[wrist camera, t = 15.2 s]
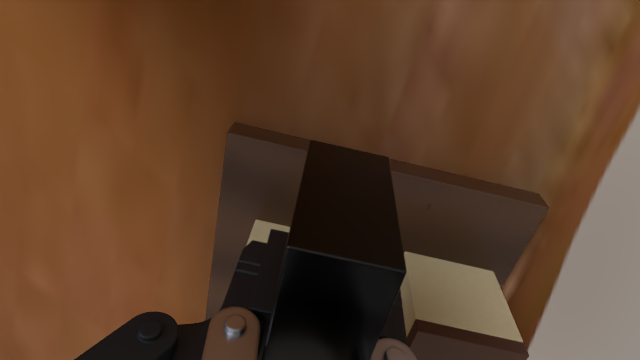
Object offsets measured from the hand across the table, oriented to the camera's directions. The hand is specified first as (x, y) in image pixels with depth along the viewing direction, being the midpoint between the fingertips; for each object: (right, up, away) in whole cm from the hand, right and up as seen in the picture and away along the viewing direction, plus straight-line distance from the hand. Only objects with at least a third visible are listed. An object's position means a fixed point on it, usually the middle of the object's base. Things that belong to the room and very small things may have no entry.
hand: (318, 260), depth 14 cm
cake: (+7, -7, +14) cm, 17 cm away
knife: (-1, -5, +3) cm, 6 cm away
